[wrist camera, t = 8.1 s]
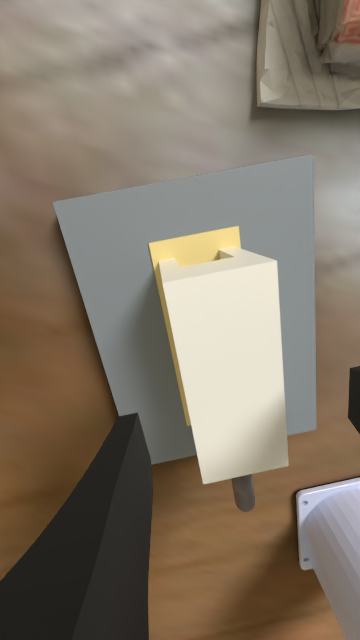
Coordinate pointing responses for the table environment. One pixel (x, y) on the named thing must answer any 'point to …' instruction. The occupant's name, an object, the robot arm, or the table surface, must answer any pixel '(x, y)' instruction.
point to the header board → (189, 249)
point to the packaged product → (309, 54)
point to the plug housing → (230, 364)
